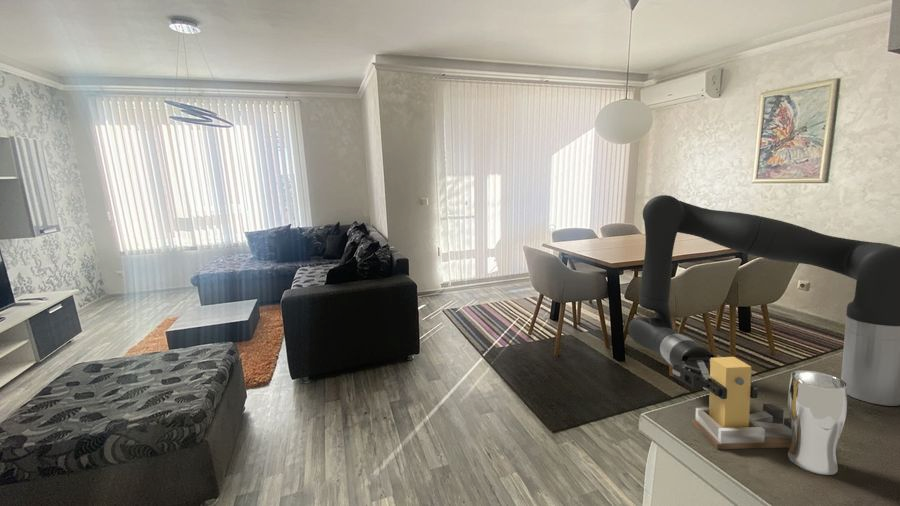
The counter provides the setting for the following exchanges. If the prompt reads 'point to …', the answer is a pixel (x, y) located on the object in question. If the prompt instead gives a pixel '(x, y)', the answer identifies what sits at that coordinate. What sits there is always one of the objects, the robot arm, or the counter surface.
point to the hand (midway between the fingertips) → (740, 393)
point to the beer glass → (816, 420)
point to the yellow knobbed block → (731, 392)
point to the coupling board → (747, 430)
